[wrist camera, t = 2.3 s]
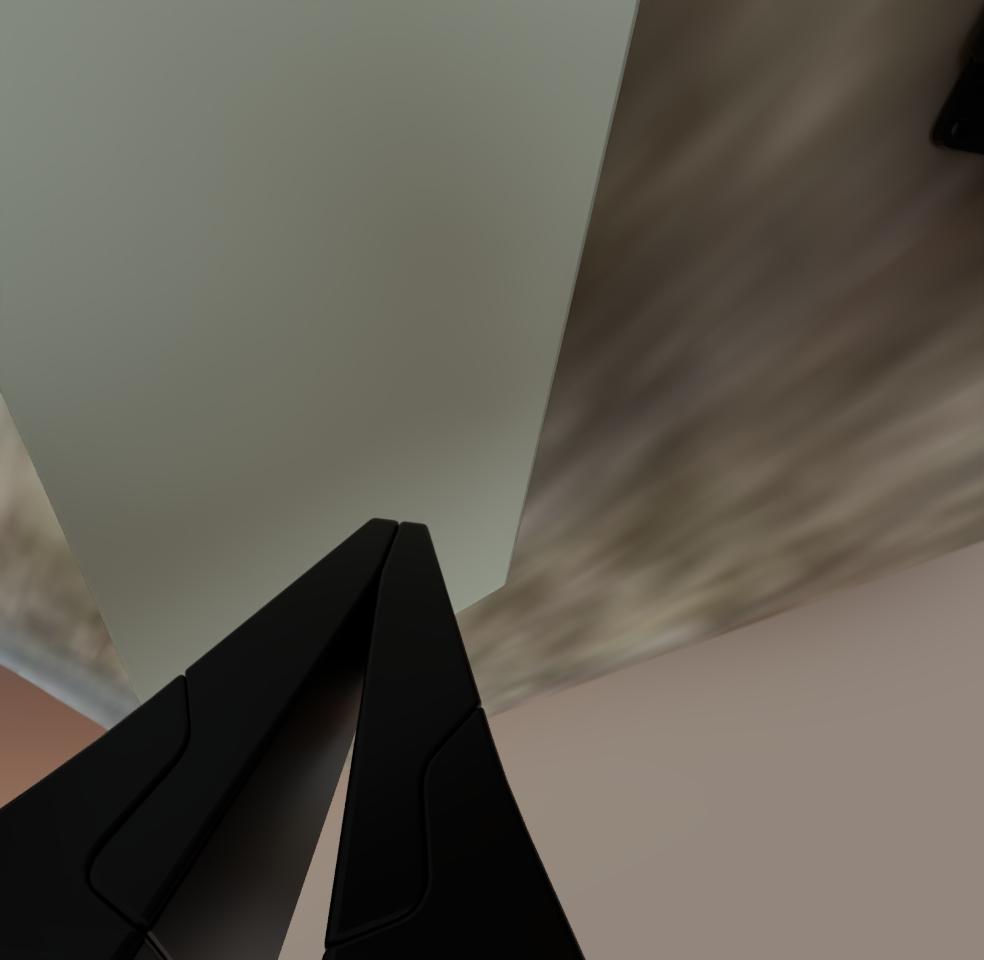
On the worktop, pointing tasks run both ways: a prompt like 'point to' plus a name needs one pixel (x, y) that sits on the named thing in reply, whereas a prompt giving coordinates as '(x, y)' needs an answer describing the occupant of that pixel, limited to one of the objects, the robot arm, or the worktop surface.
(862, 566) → the worktop surface
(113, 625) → the duct cover
